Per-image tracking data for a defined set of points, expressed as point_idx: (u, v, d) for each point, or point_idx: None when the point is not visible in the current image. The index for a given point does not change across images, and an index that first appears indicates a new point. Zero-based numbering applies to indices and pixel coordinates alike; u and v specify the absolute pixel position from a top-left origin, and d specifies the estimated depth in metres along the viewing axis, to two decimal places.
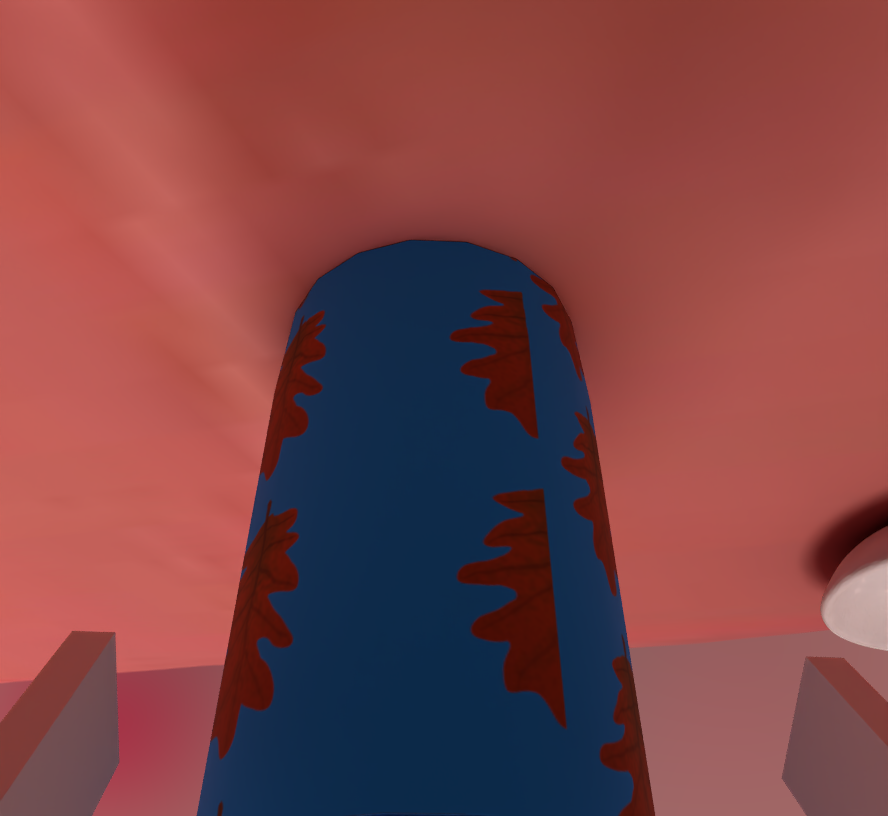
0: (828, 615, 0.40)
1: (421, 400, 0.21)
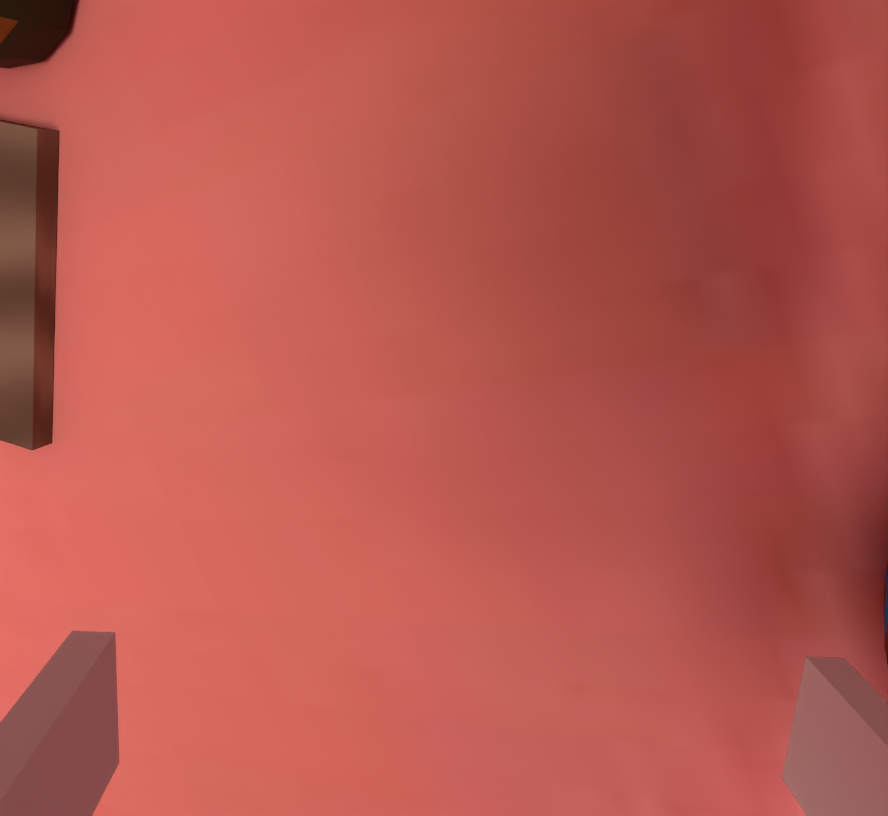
0: None
1: None
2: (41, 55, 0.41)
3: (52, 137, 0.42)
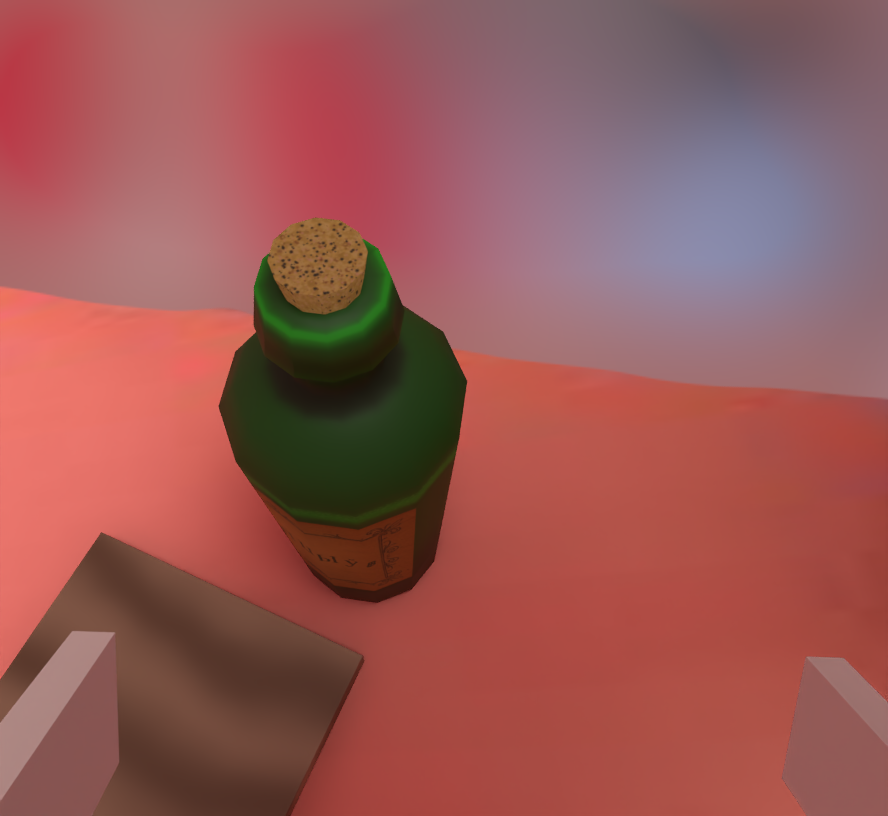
0: None
1: None
2: (383, 598, 0.48)
3: (361, 664, 0.47)
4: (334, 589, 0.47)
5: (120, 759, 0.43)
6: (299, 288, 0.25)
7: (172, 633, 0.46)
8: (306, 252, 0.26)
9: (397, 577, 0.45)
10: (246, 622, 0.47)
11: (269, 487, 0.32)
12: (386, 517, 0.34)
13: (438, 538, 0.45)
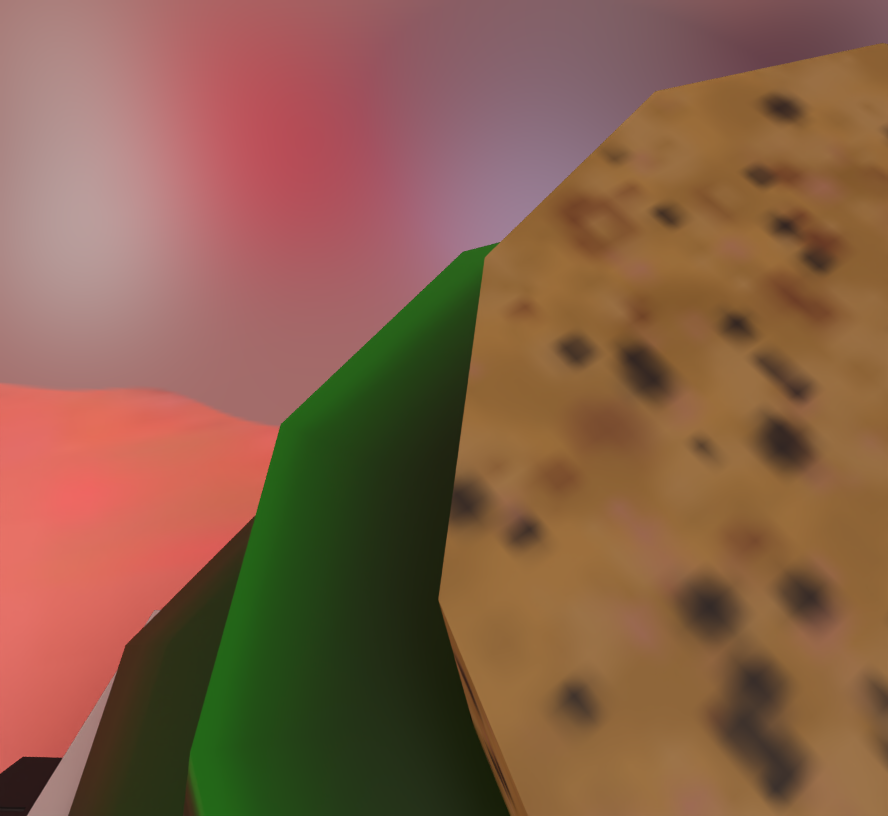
0: None
1: None
2: None
3: None
4: None
5: None
6: None
7: None
8: None
9: None
10: None
11: None
12: None
13: None
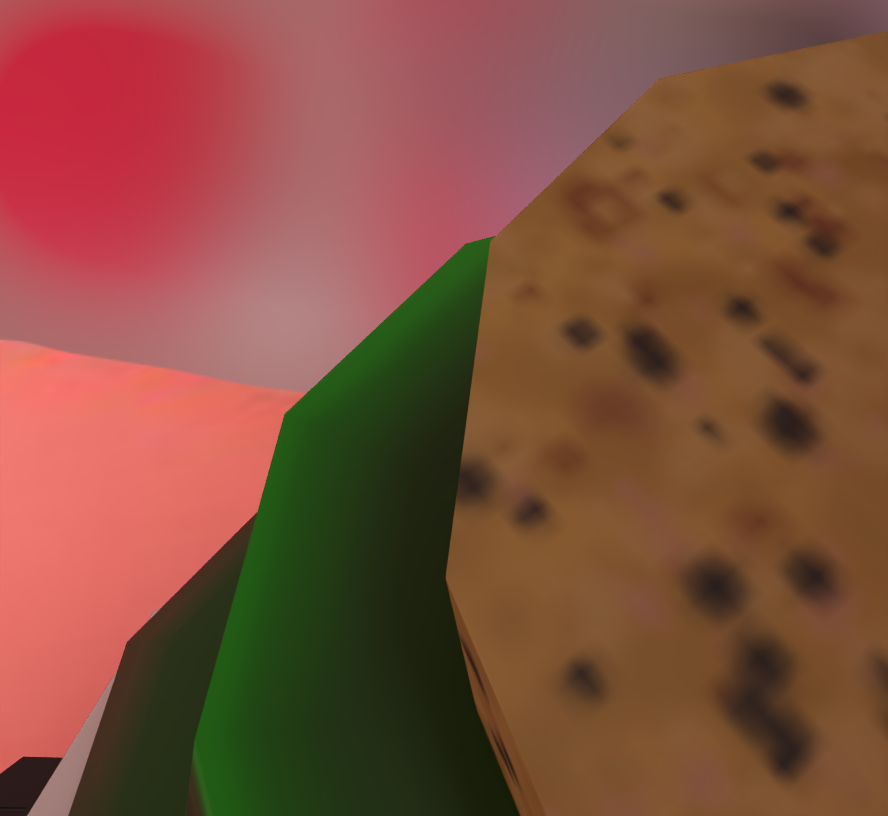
0: None
1: None
2: None
3: None
4: None
5: None
6: None
7: None
8: None
9: None
10: None
11: None
12: None
13: None
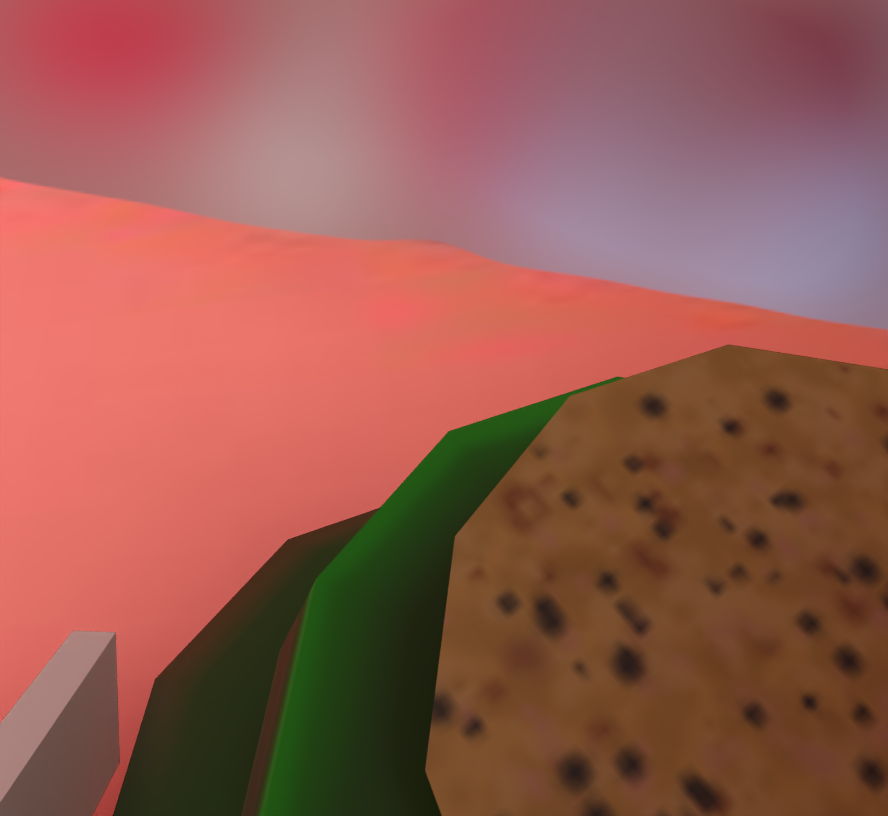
0: None
1: None
2: None
3: None
4: None
5: None
6: None
7: None
8: (757, 668, 0.03)
9: None
10: None
11: None
12: None
13: None
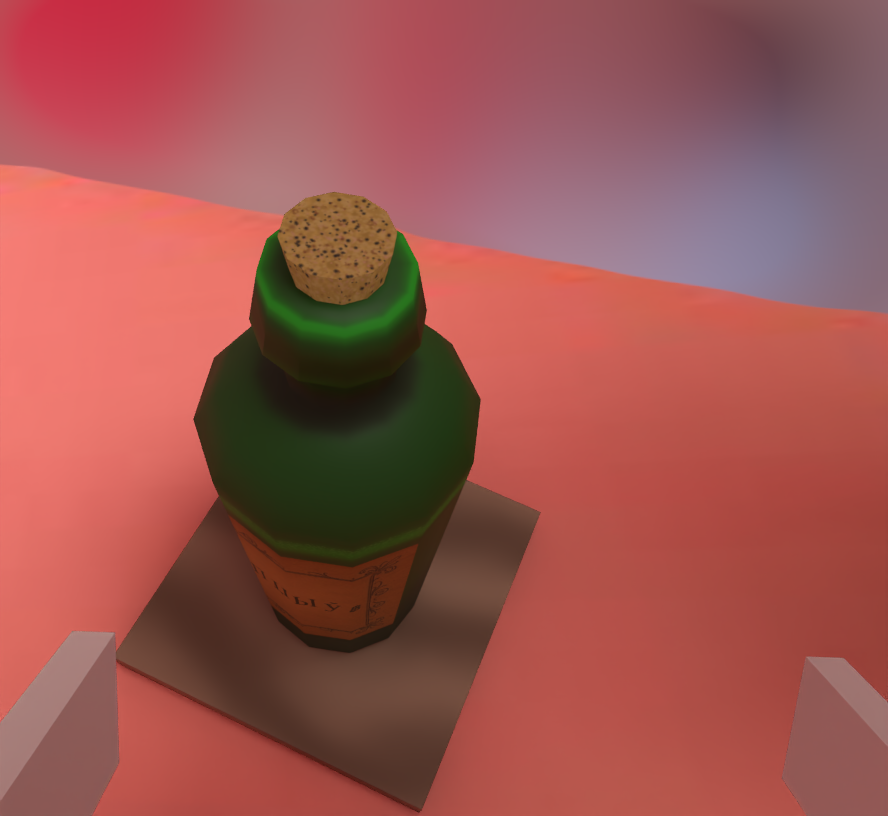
0: None
1: None
2: (357, 648, 0.43)
3: None
4: (302, 637, 0.42)
5: None
6: (317, 269, 0.21)
7: None
8: (324, 230, 0.22)
9: (377, 624, 0.40)
10: None
11: (253, 514, 0.27)
12: (384, 553, 0.30)
13: None
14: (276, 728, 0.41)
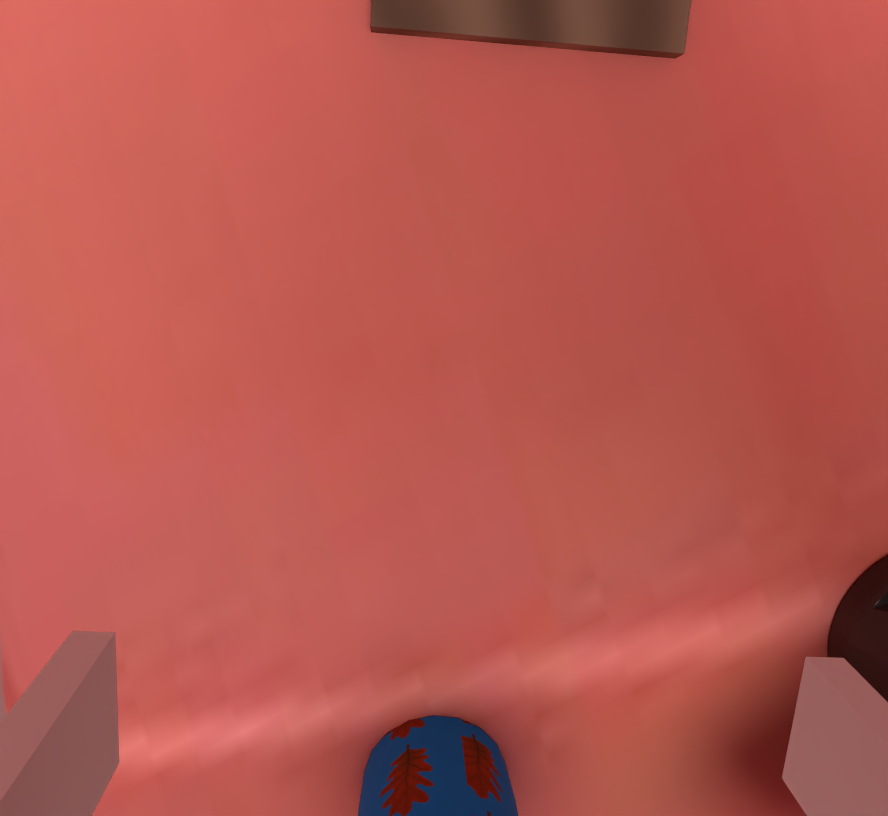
0: None
1: None
2: None
3: (672, 56, 0.47)
4: None
5: None
6: None
7: None
8: None
9: None
10: None
11: None
12: None
13: None
14: None
